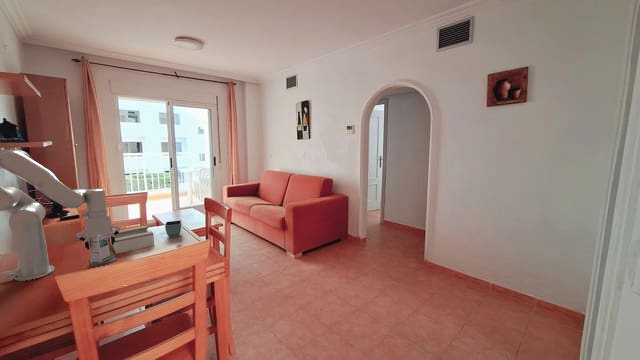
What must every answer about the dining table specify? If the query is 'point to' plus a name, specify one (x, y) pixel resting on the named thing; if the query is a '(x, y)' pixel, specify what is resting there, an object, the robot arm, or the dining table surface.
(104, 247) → the syrup box
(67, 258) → the dining table surface
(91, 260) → the placing mat
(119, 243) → the slotted crate
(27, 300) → the dining table surface
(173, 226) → the flower pot
